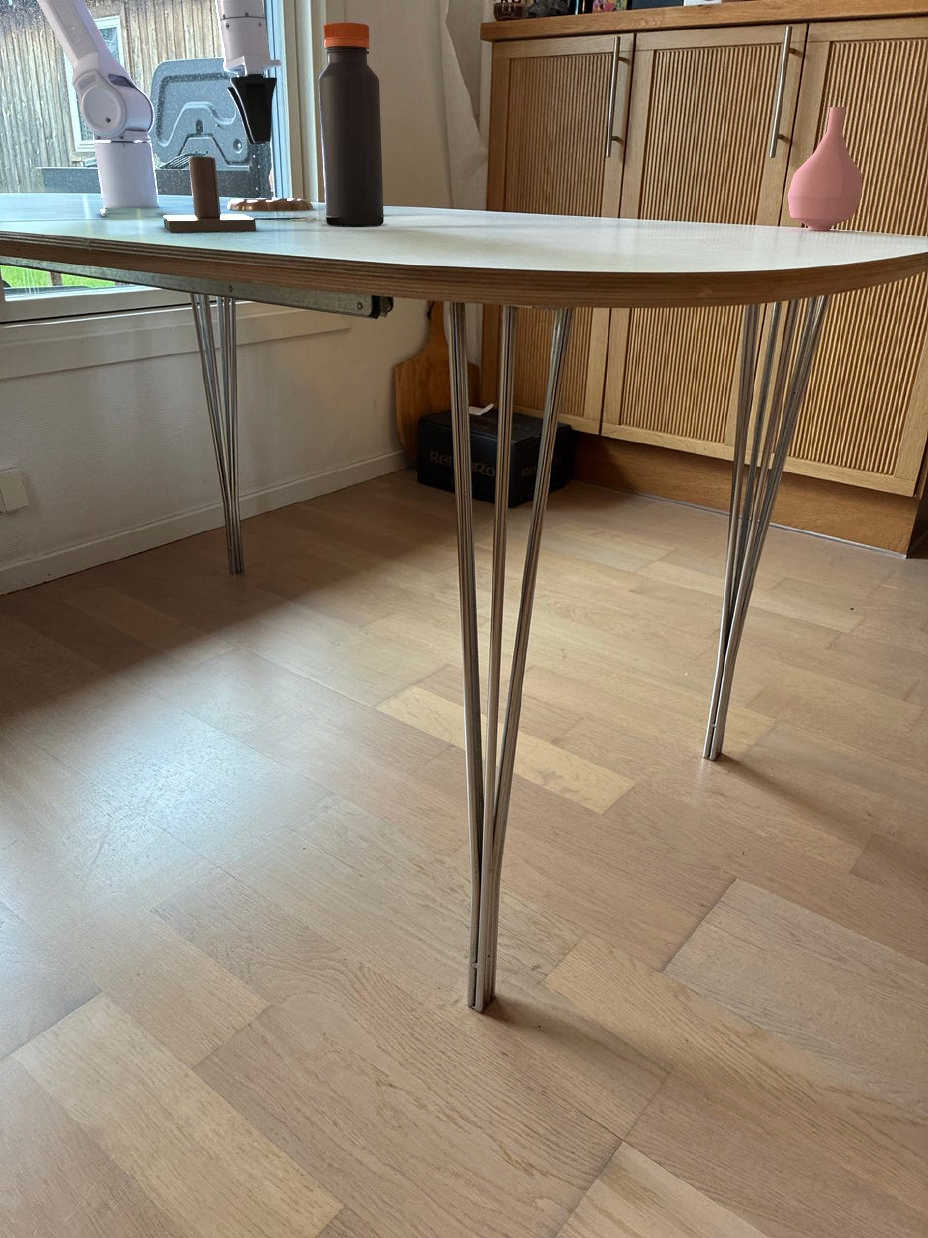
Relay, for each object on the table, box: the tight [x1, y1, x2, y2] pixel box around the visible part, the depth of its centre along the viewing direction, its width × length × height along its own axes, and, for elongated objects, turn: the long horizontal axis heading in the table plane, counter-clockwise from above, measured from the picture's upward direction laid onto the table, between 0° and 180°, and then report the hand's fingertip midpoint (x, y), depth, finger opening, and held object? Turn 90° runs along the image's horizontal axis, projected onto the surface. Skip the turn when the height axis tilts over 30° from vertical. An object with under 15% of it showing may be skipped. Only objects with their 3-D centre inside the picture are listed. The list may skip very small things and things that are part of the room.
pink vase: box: [787, 106, 863, 232], centre depth 102 cm, size 8×8×12 cm
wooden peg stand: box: [162, 156, 257, 234], centre depth 102 cm, size 9×9×7 cm
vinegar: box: [317, 22, 385, 228], centre depth 106 cm, size 7×7×20 cm
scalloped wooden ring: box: [226, 197, 314, 221], centre depth 123 cm, size 11×11×2 cm
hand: (259, 143), depth 123 cm, fingers open, 7 cm apart
